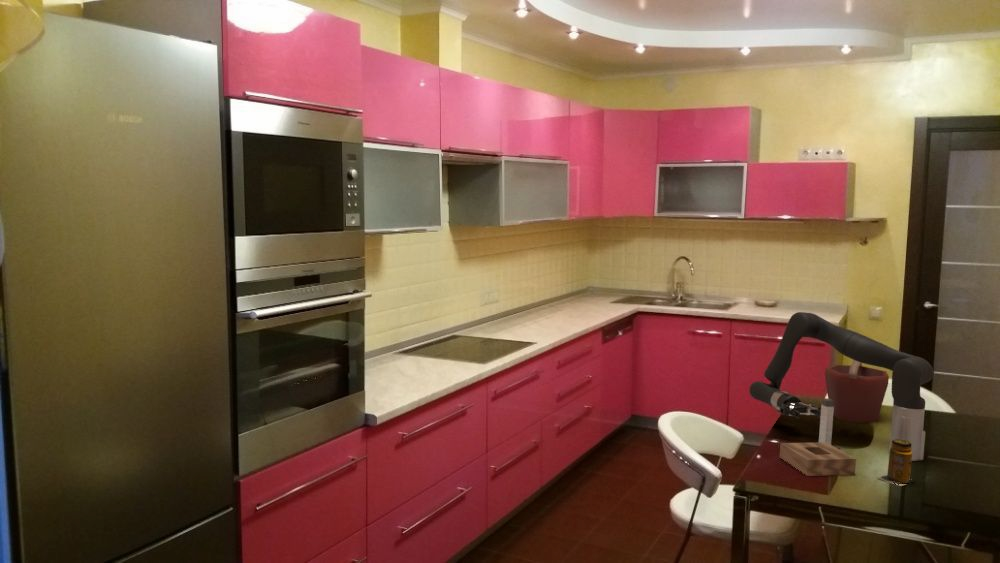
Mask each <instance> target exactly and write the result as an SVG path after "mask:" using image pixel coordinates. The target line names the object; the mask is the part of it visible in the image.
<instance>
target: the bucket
mask: <svg viewBox="0 0 1000 563" xmlns="http://www.w3.org/2000/svg"><path fill="white" fill-rule="evenodd" d="M889 377H890V376H889V374H888V373H887V371H886V370H882V369H877V368H873V367H868V366H863V363H861V362H858V361H855V360H853V359H852V363H851V365H850V364H849V365H847V364H846V365H845V364H833V365H830V366H826V367H825V371H824V378H825V385H826V393H827V399H831V400H833V407H834V412H833V417H835V418H836V419H839V420H841V421H848V422H854V423H858V424H863V423H864V424H865V423H866V422H867V423H877V421H878V419H879V415H880V412H881V410H882V405H883V403H884V399H885V396H886V392H887V389H888V387H889V379H890V378H889Z"/></svg>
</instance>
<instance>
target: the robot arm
mask: <svg viewBox="0 0 1000 563" xmlns="http://www.w3.org/2000/svg"><path fill="white" fill-rule="evenodd" d="M802 338H810V339H815V340H817V341H821V342H824V343H826V344H828V345H830V346H831V347H832V348H834V350H836V351H837V352H838V353H840V354H841V355H843V356H845V357H847V358H849V359H851V360H852V361H853V360H855V361H858V362H861V363H862V364H866V365H869V366H874V367H878V368H882V369H883V368H884V369H886V370H889V371H891V373H892V374H891V397H892V400H893V402H892V403H893V405H892V414H891V427H890V439H889V447H888V450H889V451H888V454H889V453H890V449H891V445H892V440H894V439H901V440H906V441H909V442H911V444H912V446H911V448H912V449H911V452H912V462H913V461H914V462H915V461H923V460H924V455H925V454H924V452H925V443H926V431H925V430H924V421H925V410H926V399H925V398H924V397H922V396H921V386H922V385H925V384H926V383H928V382H930V381H931V380H932V379H933V377H934V373H935V372H934V368H933V366H932V365H931V363H930V362H928V361H927V360H926V359H925V358H923V357H920V356H916V355H913V354H910V353H907V352H903V351H900V350H898V349H894V348H893V347H891V346H888V345H886V344H884V343H882V342H880V341H877V340H875V339H872V338H870V337H869V336H866V335H863V334H861V333H859V332H856V331H855V330H854V331H853V330H851V329H848V328H845V327H841V326H839V325H835V324H833V323H831V322H830V321H828V320H826V319H824V318H823V317H820V316H819V315H817V314H815V313H812V312H805V311H799V312H798V311H797V312H795V313H794V314H792V315H791V316H790V318H789V319H788V321H787V324H786V327H785V330H784V333H783V335H782V337H781V340H780V343H779V345H778V347H777V350H776V352H775V354H774V355H773V357H772V359H771V360H770V362H769V364H768V366H767V367H766V368H765V371H764V373H763V375H764V378H766V379H767V380H768V381H769V383H766V382H763V381H759V380H756V381H754V382H752V383H751V384H750V385H749V391H748V392H749V394H750V396H751V397H752V398H753V399H755V400H757V401H760V402H763V403H765V404H766V405H769V406H771V407H772V408H774V409H775V410H776V412H778V413H780V414H781V415H782V416H788V417H794V418H796V419H800V415H806V416H810V415H811V416H812V415H813V416H815V417H818V418H819V419H820V418H821V406H818V405H816V404H813V403H809V404H806V403H803V402H802V401H801V399H800V398H799V397H798V396H796V395H794V394H791V393H789V392H787V391H783V390H781V386H782V382H783V380H784V378H785V377H786V374H788V371H789V369H790V367H791V366H792V362H793V356H794V351H795V349H796V346H797V345H798V343H799V342H800V341H801V340H802Z"/></svg>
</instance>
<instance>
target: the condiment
mask: <svg viewBox="0 0 1000 563" xmlns="http://www.w3.org/2000/svg"><path fill="white" fill-rule="evenodd" d="M911 446H912V444H911V442H909V441H906V440H901V439H894V440H892V445H891V449H890V453H889V452H888V454H889V455H888V465H887V466H888V467H887V475H882V476H879V477H877V479H879V480H881V481H884V482H887V483H890V484H893V485H895V484H896V486H899V487H902V486H903V487H904V486H906V485H907V484H899V485H898V484H897V483H895V484H894V483H893V481H895V482H900V483H908V482H909V480H910V479H911V471H912V470H911V469H912V463H913V461H912V452H911V449H912V448H911Z"/></svg>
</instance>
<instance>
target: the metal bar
mask: <svg viewBox="0 0 1000 563" xmlns="http://www.w3.org/2000/svg"><path fill="white" fill-rule="evenodd" d="M820 407H821V418H819V420H820V421H819V432H818V434H819V436H818V441H817V442H816V443H820V442H826V443H828V444H830V445H832V435H833V425H834V424H833V423H834V422H833V421H834V416H833V412H834V407H833V400H831V399H828V398H823V399H822V404H821V406H820Z"/></svg>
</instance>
